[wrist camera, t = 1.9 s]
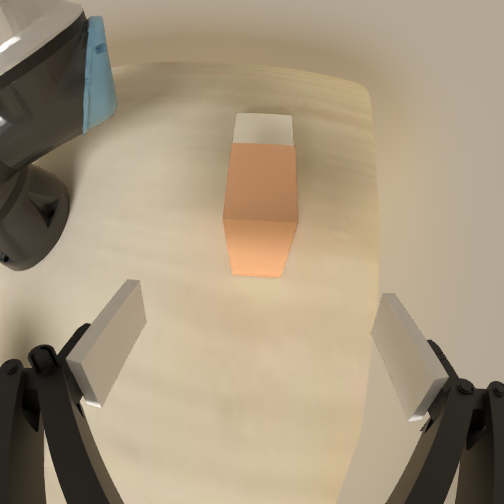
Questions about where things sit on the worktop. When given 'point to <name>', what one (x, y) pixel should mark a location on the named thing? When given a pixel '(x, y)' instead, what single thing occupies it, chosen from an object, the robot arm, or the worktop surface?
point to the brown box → (260, 208)
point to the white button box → (263, 129)
